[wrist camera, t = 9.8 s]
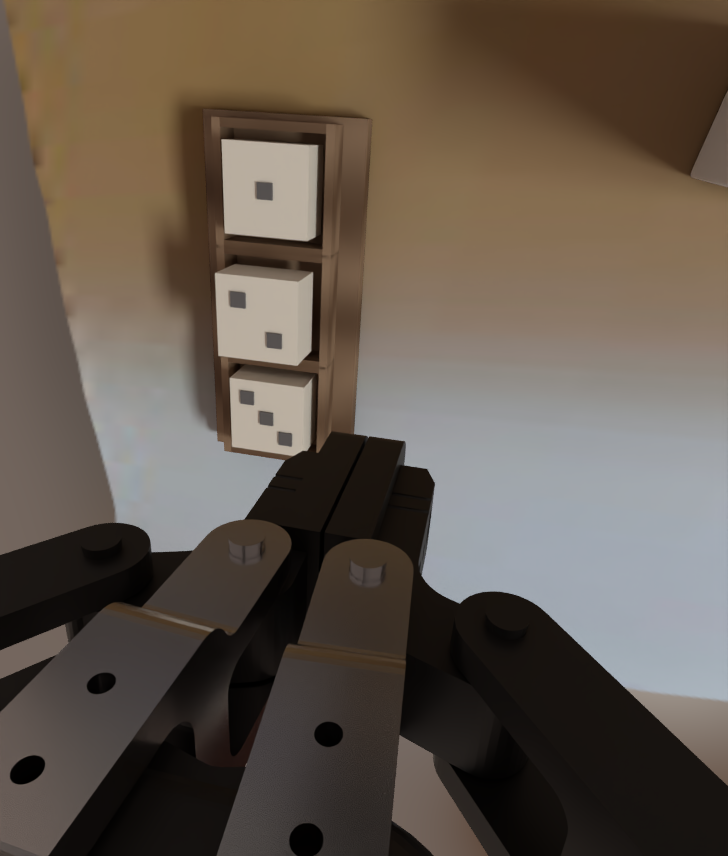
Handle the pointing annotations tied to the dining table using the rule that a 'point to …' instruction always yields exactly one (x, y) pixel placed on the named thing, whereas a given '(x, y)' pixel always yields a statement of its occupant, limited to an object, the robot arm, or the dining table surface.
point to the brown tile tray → (301, 257)
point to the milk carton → (715, 151)
